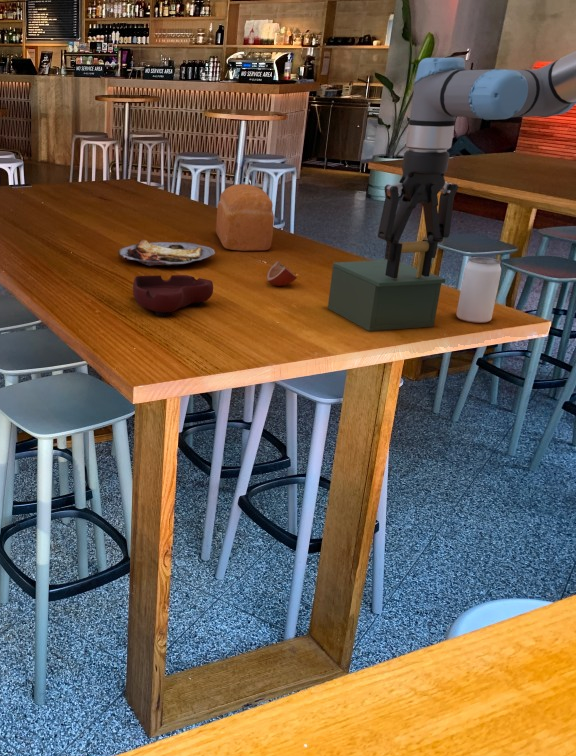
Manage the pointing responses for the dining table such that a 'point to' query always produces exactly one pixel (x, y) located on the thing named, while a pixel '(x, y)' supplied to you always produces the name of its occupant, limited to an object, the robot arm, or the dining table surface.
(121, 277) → the dining table surface
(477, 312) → the can
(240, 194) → the bread
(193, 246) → the food plate
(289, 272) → the fruit slice
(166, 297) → the ashtray
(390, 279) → the lid
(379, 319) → the chest
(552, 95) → the robot arm
